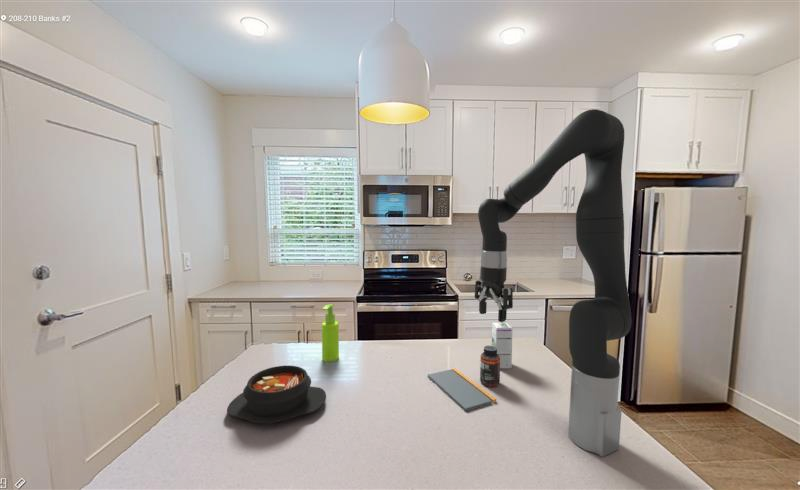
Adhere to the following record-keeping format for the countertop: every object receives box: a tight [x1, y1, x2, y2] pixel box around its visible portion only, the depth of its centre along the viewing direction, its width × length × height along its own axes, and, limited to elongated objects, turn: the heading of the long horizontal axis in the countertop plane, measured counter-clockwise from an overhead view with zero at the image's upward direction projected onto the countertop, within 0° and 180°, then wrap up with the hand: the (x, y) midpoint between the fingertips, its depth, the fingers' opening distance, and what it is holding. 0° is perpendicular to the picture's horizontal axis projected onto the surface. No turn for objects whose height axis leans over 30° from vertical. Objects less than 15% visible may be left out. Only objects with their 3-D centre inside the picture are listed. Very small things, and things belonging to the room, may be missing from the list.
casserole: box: [226, 365, 327, 424], centre depth 84 cm, size 25×19×8 cm
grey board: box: [427, 367, 497, 412], centre depth 95 cm, size 20×11×1 cm, turn 25°
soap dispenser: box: [321, 303, 340, 363], centre depth 114 cm, size 6×7×20 cm
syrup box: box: [491, 321, 513, 370], centre depth 110 cm, size 6×6×14 cm
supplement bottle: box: [479, 345, 501, 388], centre depth 98 cm, size 6×6×11 cm
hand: (491, 317), depth 97 cm, fingers open, 8 cm apart
